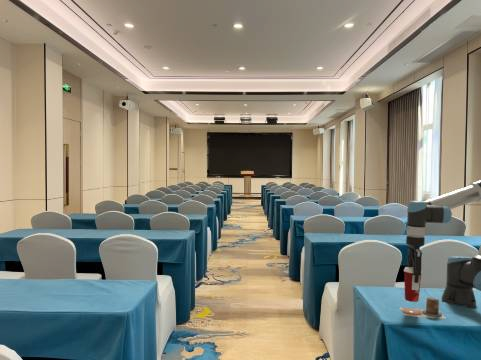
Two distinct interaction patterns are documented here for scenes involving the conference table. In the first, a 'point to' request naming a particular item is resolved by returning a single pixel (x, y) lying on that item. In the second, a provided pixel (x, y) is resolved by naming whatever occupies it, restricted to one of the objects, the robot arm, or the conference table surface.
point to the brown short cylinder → (432, 306)
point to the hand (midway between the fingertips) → (412, 287)
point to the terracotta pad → (411, 311)
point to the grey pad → (432, 314)
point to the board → (422, 314)
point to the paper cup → (409, 293)
